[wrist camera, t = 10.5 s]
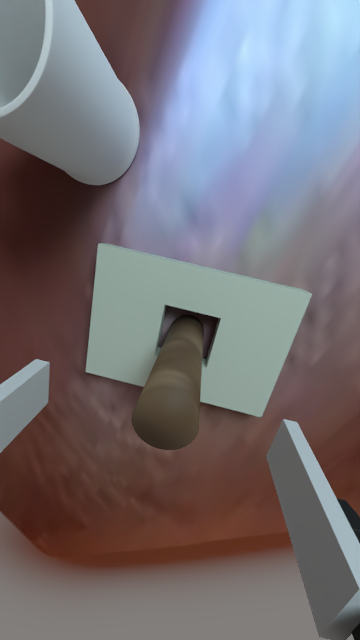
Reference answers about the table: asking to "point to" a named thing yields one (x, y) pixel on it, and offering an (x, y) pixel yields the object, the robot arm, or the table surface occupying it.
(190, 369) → the peg
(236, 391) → the socket board
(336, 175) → the table surface
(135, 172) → the table surface
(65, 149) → the mug
